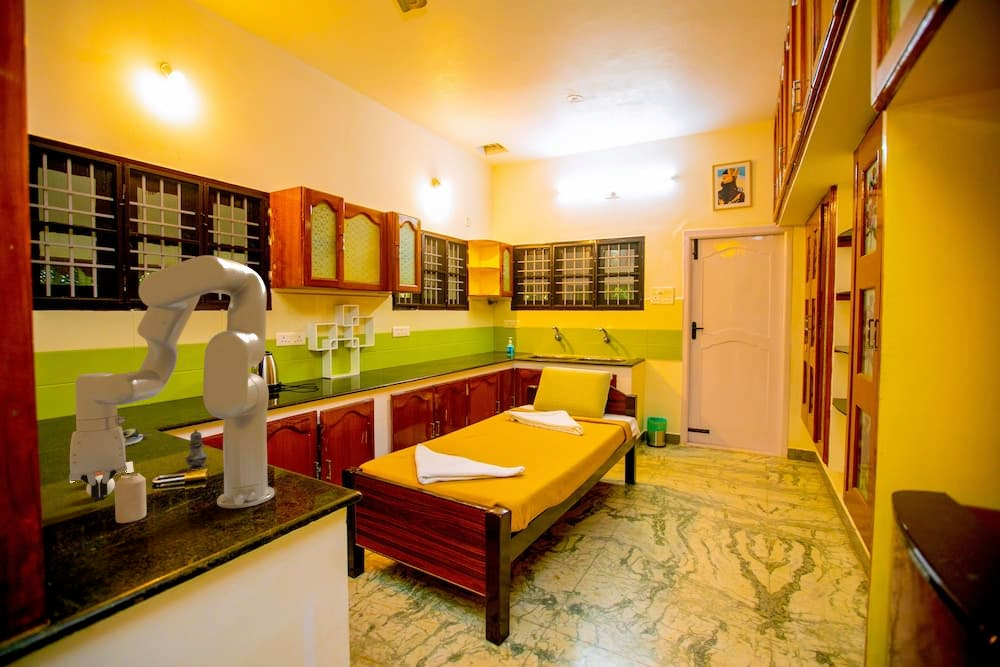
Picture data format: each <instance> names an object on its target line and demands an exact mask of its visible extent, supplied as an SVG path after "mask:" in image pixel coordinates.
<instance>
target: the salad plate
mask: <svg viewBox="0 0 1000 667" xmlns="http://www.w3.org/2000/svg"><path fill="white" fill-rule="evenodd" d="M122 431H123V435H124V443H125V447H129V446H128V445H130V446H133V445H132V444H134V445H137V444H138V443H140V442H141V441H143V440H144V438H146V437H148V436H149V435H150V434H149V433H146V434H141V433H140V434H139V430H138V429H137V428H136V427H135V428H133V427H132V428H128V429H124V430H122ZM136 443H137V444H136Z"/></svg>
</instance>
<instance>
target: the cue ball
mask: <svg viewBox="0 0 1000 667" xmlns="http://www.w3.org/2000/svg"><path fill="white" fill-rule="evenodd" d="M102 477H103V475H100V476H97V477H95V478H96V480H98V483H99V499H100V482H101V479H102ZM115 483H116V481H115V479H114V477H112V478H111V479H110V480H109V482H108V483H107V493H108V495H110V494H111V493H112V491H114V490H115ZM86 484H87V485H86V488H85V489H86V493H87V494H88V495H89V496H90V497H91V486H90V485H89V484H88V483H86ZM108 495H105V496H104V497H106V496H108Z"/></svg>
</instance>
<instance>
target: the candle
mask: <svg viewBox="0 0 1000 667" xmlns="http://www.w3.org/2000/svg"><path fill="white" fill-rule="evenodd" d="M146 480H147V479H146V477H144V476H143V475H142V474H140V473H139V472H134V473H132V474H125V475H120V477H119V478H118V480H117V481H115V486H114V508H115V510H114V511H115V515H114V516H115V522H116V523H117V524H126V523H132V522H136V521H139V520H142V519H144V518H146V516H147V487H146V486H147V482H146Z"/></svg>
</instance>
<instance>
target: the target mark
mask: <svg viewBox="0 0 1000 667" xmlns="http://www.w3.org/2000/svg"><path fill="white" fill-rule="evenodd" d="M125 463H126V466H127V470H126V471H127V472H126V471H125V472H126V473H130V474H133V473H132V472H134V473H135V470H134V462H133V461H132V460H131V461H125ZM73 482H75V481H71V480H69V484H74V483H73Z"/></svg>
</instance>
